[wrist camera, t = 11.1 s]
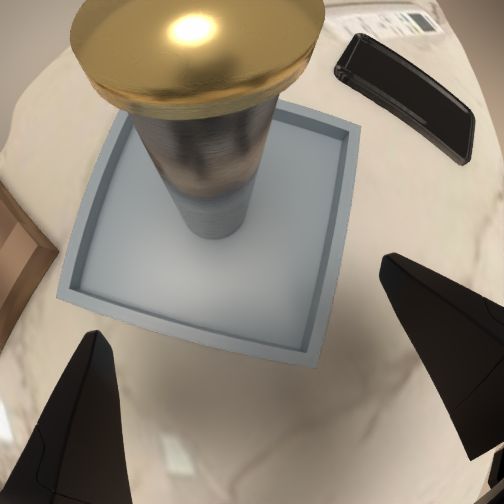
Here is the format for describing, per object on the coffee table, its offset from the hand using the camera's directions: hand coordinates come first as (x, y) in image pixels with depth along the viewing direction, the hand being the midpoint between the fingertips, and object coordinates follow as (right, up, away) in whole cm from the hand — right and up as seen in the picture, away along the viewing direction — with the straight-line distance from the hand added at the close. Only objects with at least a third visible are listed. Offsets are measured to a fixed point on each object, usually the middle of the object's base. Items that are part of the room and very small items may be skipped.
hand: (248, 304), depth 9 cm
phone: (+15, +16, +15) cm, 26 cm away
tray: (-2, +4, +11) cm, 12 cm away
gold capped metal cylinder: (-2, +4, +10) cm, 11 cm away
